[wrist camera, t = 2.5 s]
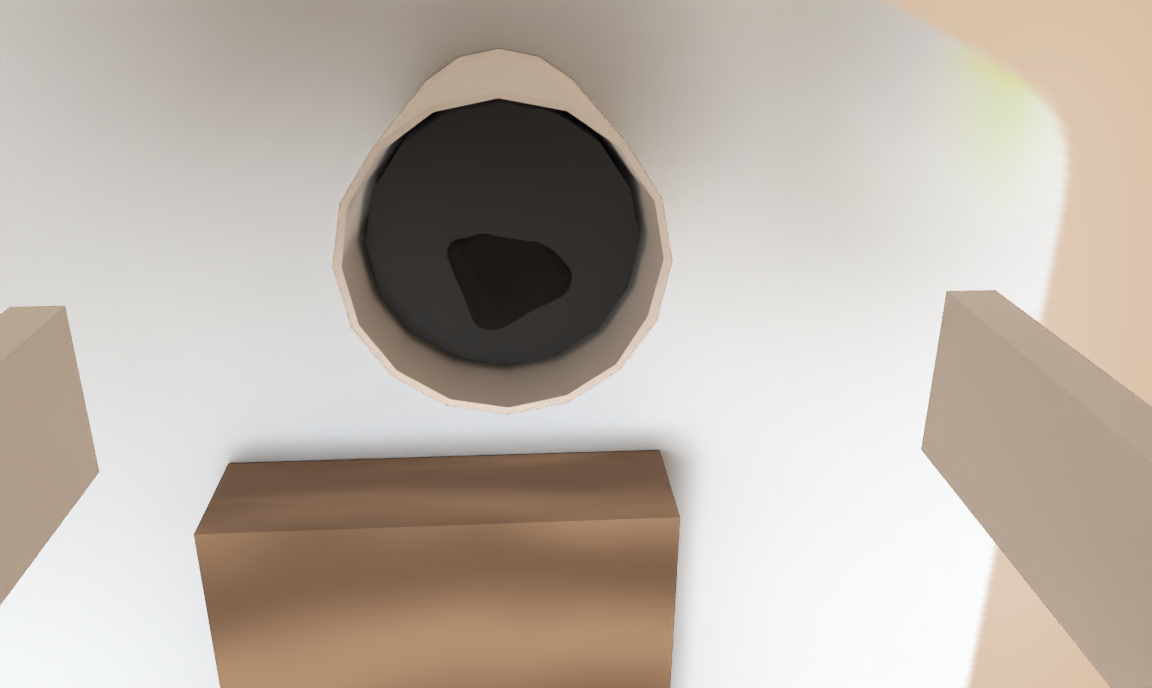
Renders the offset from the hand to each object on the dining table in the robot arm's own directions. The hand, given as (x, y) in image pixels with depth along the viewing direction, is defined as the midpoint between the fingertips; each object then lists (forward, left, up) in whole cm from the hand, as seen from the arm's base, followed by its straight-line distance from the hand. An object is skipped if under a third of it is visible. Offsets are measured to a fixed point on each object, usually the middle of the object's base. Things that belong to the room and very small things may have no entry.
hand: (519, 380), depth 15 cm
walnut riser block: (+18, -2, -15) cm, 23 cm away
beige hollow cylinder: (0, 0, -15) cm, 15 cm away
